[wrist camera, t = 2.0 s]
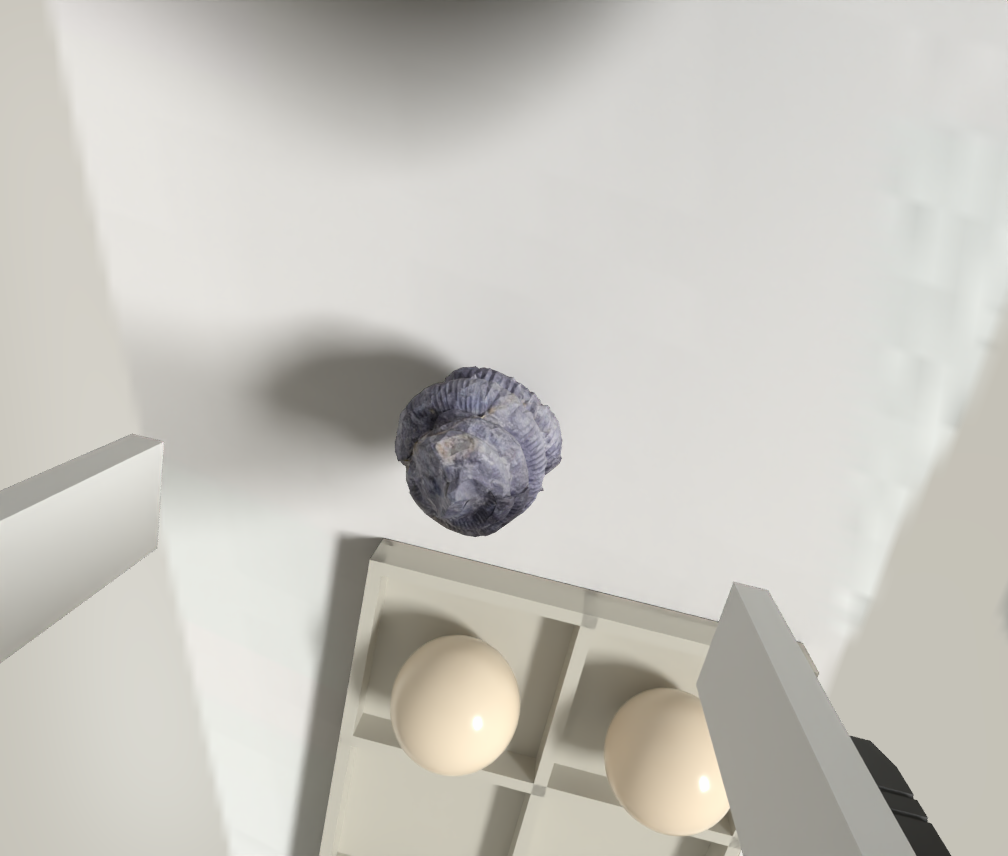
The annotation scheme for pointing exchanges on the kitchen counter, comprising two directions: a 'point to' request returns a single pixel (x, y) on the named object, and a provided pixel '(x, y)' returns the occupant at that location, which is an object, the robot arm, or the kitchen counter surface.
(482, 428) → the seashell
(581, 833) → the egg tray
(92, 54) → the kitchen counter surface
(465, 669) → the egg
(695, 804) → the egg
